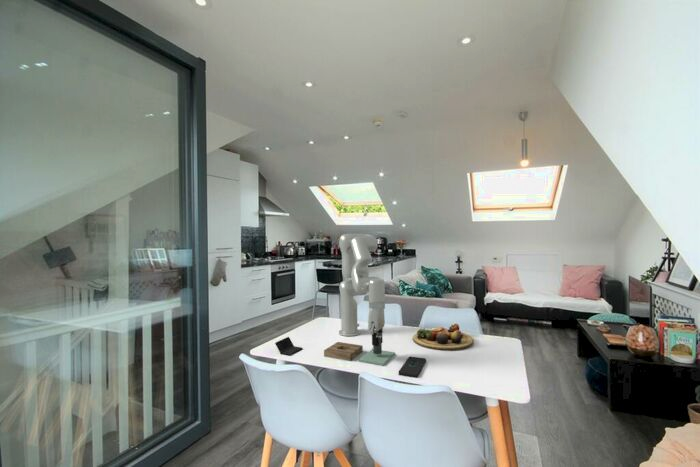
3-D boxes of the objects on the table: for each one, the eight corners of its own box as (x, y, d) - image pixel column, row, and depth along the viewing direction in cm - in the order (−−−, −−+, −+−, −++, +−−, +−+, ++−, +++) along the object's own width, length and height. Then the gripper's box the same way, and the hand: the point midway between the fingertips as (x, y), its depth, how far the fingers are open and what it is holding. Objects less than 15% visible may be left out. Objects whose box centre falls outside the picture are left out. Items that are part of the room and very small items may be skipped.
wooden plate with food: (445, 330, 201) (444, 316, 201) (487, 344, 173) (486, 329, 173) (401, 339, 187) (400, 324, 188) (439, 356, 159) (438, 339, 159)
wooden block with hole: (338, 347, 171) (338, 341, 171) (362, 351, 165) (362, 345, 165) (324, 356, 158) (324, 350, 158) (350, 361, 152) (350, 354, 152)
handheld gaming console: (293, 353, 159) (283, 335, 162) (282, 361, 160) (272, 343, 163) (304, 348, 170) (294, 332, 173) (293, 356, 171) (284, 340, 174)
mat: (372, 350, 165) (372, 348, 165) (395, 354, 160) (395, 352, 160) (358, 361, 151) (358, 359, 151) (383, 366, 146) (383, 363, 146)
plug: (375, 350, 158) (374, 332, 159) (383, 352, 157) (382, 333, 157) (371, 353, 155) (371, 334, 155) (379, 354, 153) (379, 335, 153)
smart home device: (426, 358, 151) (417, 375, 133) (426, 361, 151) (417, 379, 133) (408, 355, 155) (397, 371, 136) (408, 359, 155) (397, 376, 136)
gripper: (376, 301, 165) (376, 338, 165) (362, 307, 150) (362, 348, 150) (390, 302, 162) (390, 340, 162) (377, 309, 147) (378, 350, 147)
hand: (377, 343), depth 156 cm, fingers closed on plug, 4 cm apart
